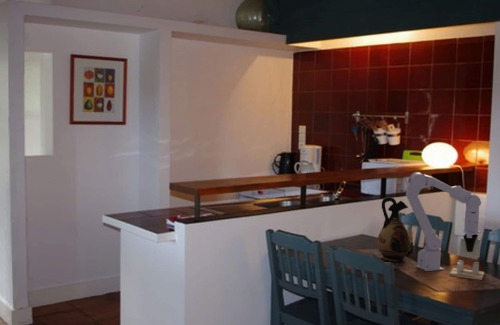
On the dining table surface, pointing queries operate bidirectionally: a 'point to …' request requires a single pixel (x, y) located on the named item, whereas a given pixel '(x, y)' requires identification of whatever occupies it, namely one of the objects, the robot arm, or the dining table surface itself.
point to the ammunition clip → (411, 240)
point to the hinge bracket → (467, 271)
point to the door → (474, 253)
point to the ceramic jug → (393, 233)
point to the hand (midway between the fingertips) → (470, 251)
